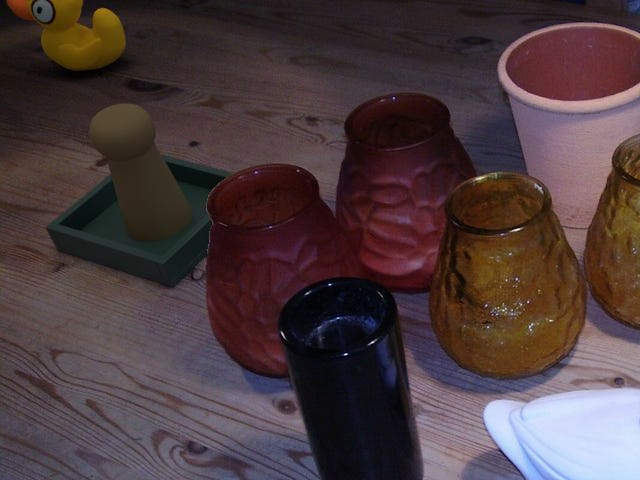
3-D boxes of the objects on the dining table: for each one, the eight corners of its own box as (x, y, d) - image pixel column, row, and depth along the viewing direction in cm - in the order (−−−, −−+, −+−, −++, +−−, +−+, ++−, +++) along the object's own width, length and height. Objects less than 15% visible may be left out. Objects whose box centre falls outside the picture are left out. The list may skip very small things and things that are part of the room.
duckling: (29, 82, 111) (-11, -4, 104) (47, 57, 115) (9, -27, 108) (126, 76, 110) (92, -11, 103) (141, 52, 114) (109, -34, 107)
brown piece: (206, 213, 89) (167, 105, 82) (152, 250, 86) (106, 141, 79) (165, 192, 92) (123, 86, 85) (112, 226, 90) (63, 120, 82)
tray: (56, 250, 89) (45, 227, 87) (150, 171, 96) (140, 148, 94) (173, 287, 84) (162, 263, 82) (262, 201, 91) (254, 177, 89)
